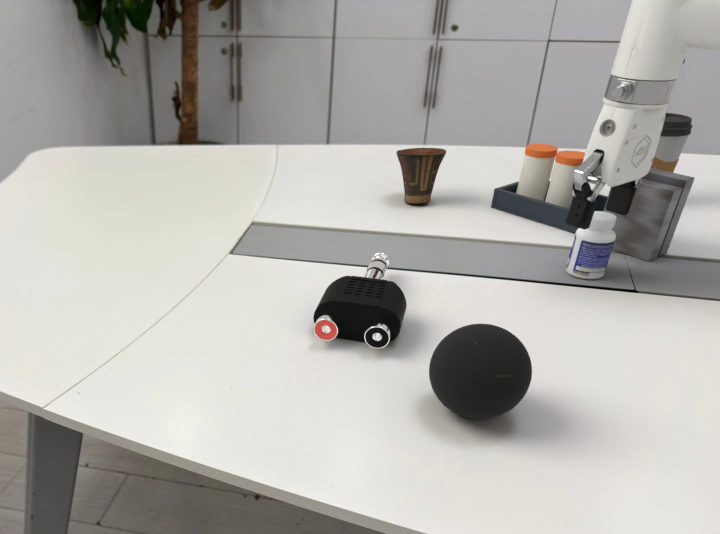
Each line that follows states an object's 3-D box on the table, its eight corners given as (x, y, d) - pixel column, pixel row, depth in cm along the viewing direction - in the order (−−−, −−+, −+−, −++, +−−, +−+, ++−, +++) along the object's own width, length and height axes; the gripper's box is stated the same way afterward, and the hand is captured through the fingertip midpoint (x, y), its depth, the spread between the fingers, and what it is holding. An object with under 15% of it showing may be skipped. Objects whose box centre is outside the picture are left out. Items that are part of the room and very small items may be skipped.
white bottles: (579, 212, 120) (596, 154, 115) (562, 219, 118) (578, 160, 112) (524, 197, 128) (537, 142, 123) (507, 202, 126) (519, 146, 120)
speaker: (452, 374, 79) (468, 298, 74) (536, 409, 73) (560, 329, 67) (404, 410, 74) (417, 330, 68) (490, 451, 67) (512, 367, 62)
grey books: (666, 253, 106) (695, 177, 99) (648, 261, 104) (676, 184, 97) (611, 236, 112) (634, 164, 105) (593, 244, 110) (615, 170, 103)
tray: (640, 226, 116) (646, 206, 114) (601, 242, 110) (607, 221, 108) (529, 194, 131) (533, 176, 129) (490, 207, 126) (494, 188, 124)
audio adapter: (309, 307, 83) (347, 235, 102) (307, 345, 86) (344, 268, 105) (400, 320, 79) (422, 243, 99) (394, 359, 82) (416, 276, 102)
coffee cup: (607, 201, 126) (632, 118, 118) (624, 191, 131) (650, 109, 122) (655, 212, 121) (686, 125, 113) (672, 200, 125) (702, 116, 117)
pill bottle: (611, 277, 99) (631, 219, 94) (581, 282, 98) (599, 224, 93) (586, 263, 104) (603, 207, 99) (557, 268, 103) (572, 211, 98)
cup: (413, 190, 135) (420, 139, 129) (448, 202, 129) (457, 148, 123) (380, 199, 131) (386, 146, 126) (415, 211, 125) (422, 156, 119)
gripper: (629, 105, 80) (586, 240, 90) (702, 88, 88) (655, 214, 98) (571, 94, 86) (536, 224, 95) (645, 79, 93) (606, 200, 103)
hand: (596, 219), depth 96 cm, fingers open, 9 cm apart
